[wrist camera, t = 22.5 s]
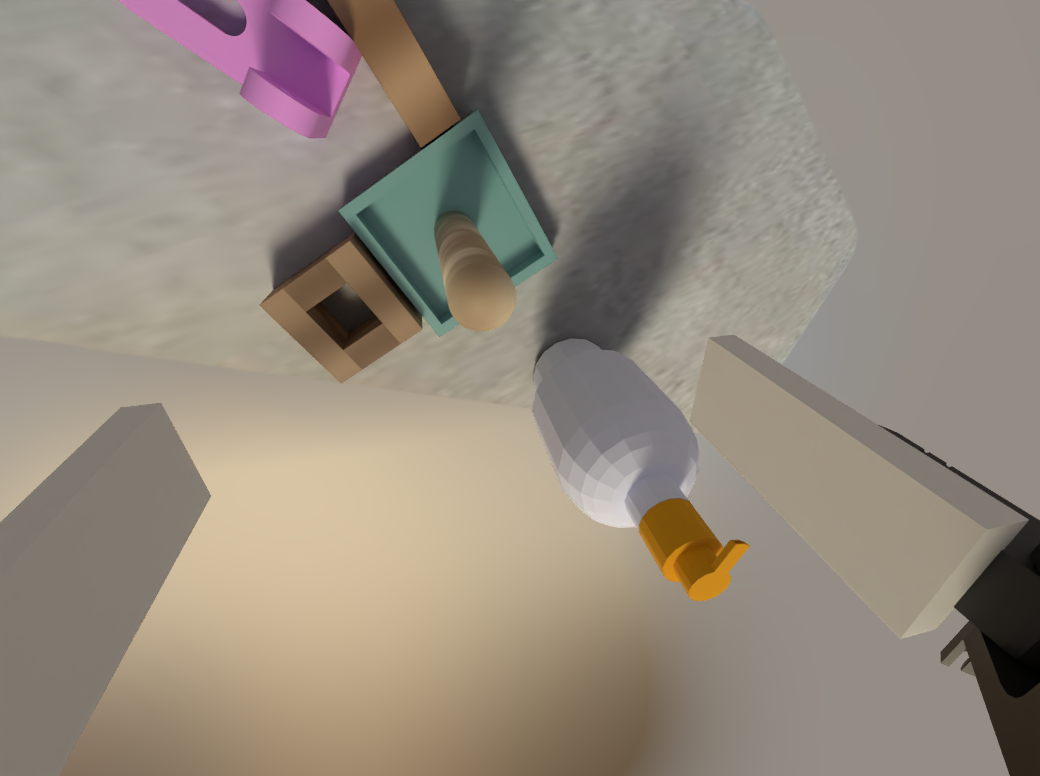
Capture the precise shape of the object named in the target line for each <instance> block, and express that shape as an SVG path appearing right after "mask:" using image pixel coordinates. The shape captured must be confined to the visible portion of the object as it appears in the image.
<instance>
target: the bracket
mask: <svg viewBox="0 0 1040 776" xmlns="http://www.w3.org/2000/svg"><path fill="white" fill-rule="evenodd" d="M119 1H120V2H121V3H123V4H124V5H125V6H126V7H127V8H128V9H130V10H131V11H132V12H134V13H135V14H136V15H138V16H139V17H141V18H143V19H144V20H146V21H147V22H149V23H150V24H152V25H153V26H155V27H156V28H158V29H159V30H161V31H162V32H164V33H165V34H167V35H168V36H170V37H171V38H173V39H174V40H176V41H177V42H179V43H180V44H182V45H183V46H185V47H186V48H188V49H189V50H191V51H192V52H194V53H195V54H197V55H198V56H200V57H201V58H203V59H204V60H206V61H207V62H209V63H210V64H212V65H213V66H215V67H216V68H218V69H219V70H221V71H222V72H224V73H225V74H227V75H228V76H230V77H231V78H233V79H234V80H236V81H237V82H239V83H240V84H242V88H241V91H240V95H241V96H242V97H243V98H245V99H246V100H247V101H248V102H250V103H251V104H252V105H254V106H255V107H257V108H258V109H259V110H261V111H262V112H264V113H265V114H267V115H268V116H270V117H272V118H273V119H275V120H276V121H278V122H280V123H281V124H283V125H285V126H286V127H288V128H290V129H292V130H293V131H295V132H297V133H299V134H301V135H303V136H305V137H308V138H326V136H327V133H328V131H329V129H330V127H331V124H332V122H333V120H334V118H335V115H336V113H337V111H338V109H339V106H340V104H341V102H342V100H343V97H344V95H345V93H346V91H347V88H348V86H349V84H350V82H351V79H352V77H353V75H354V73H355V70H356V68H357V66H358V64H359V61H360V59H361V57H362V54H361V53H360V51H359V49H358V48H357V46H356V45H355V43H354V42H353V40H352V39H351V38H350V37H349V36H348V35H347V34H346V33H345V32H343V31H342V30H341V29H340V28H339V27H338V26H337V25H335V24H334V23H333V22H332V21H331V20H330V19H328V18H327V17H326V16H325V15H323V14H322V13H321V12H320V11H319V10H317V9H316V8H315V7H314V6H312V5H311V4H310V3H309V2H307V1H306V0H237V1H238V2H239V4H240V5H241V6H242V8H243V10H244V12H245V15H246V19H247V24H246V28H245V31H244V32H243V33H242V34H240V35H238V36H230V35H228V34H226V33H225V32H224V31H222V30H221V29H219V28H218V27H217V26H215V25H214V24H212V23H211V22H209V21H208V20H207V19H205V18H204V17H202V16H201V15H199V14H198V13H197V12H195V11H194V10H192V9H191V8H189V7H188V6H187V5H185V4H184V3H182V2H181V1H179V0H119Z"/></svg>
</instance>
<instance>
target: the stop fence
mask: <svg viewBox="0 0 1040 776" xmlns="http://www.w3.org/2000/svg"><path fill="white" fill-rule="evenodd" d="M327 1H328V2H329V4H330V5H331V7H332V8H333V10H334V12H335V13H336V15H337V16H338V18H339V19H340V21H341V23H342V24H343V26H344V27H345V29H346V30H347V32H348V34H349V35H350V37H351V38H352V40H353V42H354V43H355V45H356V46H357V48H358V49H359V51H360V53H361V54H362V56H363V57H364V59H365V60H366V62H367V64H368V65H369V67H370V68H371V70H372V71H373V73H374V75H375V76H376V78H377V79H378V81H379V82H380V84H381V86H382V87H383V89H384V90H385V92H386V94H387V95H388V97H389V98H390V100H391V101H392V103H393V105H394V106H395V108H396V109H397V111H398V112H399V114H400V116H401V117H402V119H403V120H404V122H405V123H406V125H407V127H408V128H409V130H410V131H411V133H412V134H413V136H414V138H415V139H416V141H417V142H418V144H419V146H420V147H421V148H422V147H423V146H424V145H426V144H427V143H428V142H430V141H431V140H433V139H434V138H435V137H437V136H438V135H439V134H441V133H442V132H444V131H445V130H446V129H448V128H449V127H451V126H452V125H453V124H455V123H456V122H457V121H459V120H460V117H459V115H458V113H457V112H456V110H455V108H454V106H453V104H452V103H451V101H450V99H449V97H448V96H447V94H446V92H445V90H444V89H443V87H442V85H441V83H440V81H439V80H438V78H437V76H436V74H435V73H434V71H433V69H432V67H431V65H430V64H429V62H428V60H427V58H426V57H425V55H424V53H423V51H422V50H421V48H420V46H419V44H418V42H417V41H416V39H415V37H414V35H413V34H412V32H411V30H410V28H409V26H408V25H407V23H406V21H405V19H404V18H403V16H402V14H401V12H400V11H399V9H398V7H397V5H396V3H395V2H394V0H327Z"/></svg>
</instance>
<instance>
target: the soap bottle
mask: <svg viewBox="0 0 1040 776" xmlns="http://www.w3.org/2000/svg"><path fill="white" fill-rule="evenodd" d="M533 381H534V385H535V389H536V394H535V399H534V404H533V409H532V412H533V416H534V420H535V423H536V427H537V430H538V432H539V435H540V437H541V439H542V442H543V444H544V447H545V449H546V451H547V454H548V456H549V459H550V461H551V463H552V466H553V468H554V470H555V473H556V475H557V477H558V480H559V482H560V485H561V487H562V490H563V491H564V492H565V493H566V495H567V496H568V497H569V498H570V499H571V500H572V502H574V503H575V504H576V505H577V506H578V507H579V508H580V509H581V510H582V511H583V512H584V513H585V514H586V515H587V516H589V517H590V518H592V519H593V520H595V521H597V522H599V523H603V524H606V525H609V526H613V527H636V528H637V530H638V532H639V533H640V535H641V536H642V538H643V540H644V541H645V543H646V545H647V547H648V549H649V550H650V552H651V554H652V556H653V557H654V559H655V561H656V563H657V565H658V566H659V568H660V570H661V572H662V573H663V575H664V576H665V577H666V578H667V579H668V580H670V581H674V582H681V584H682V586H683V587H684V589H685V591H686V592H687V594H688V596H689V597H690V598H691V599H692V600H695V601H704V600H708V599H711V598H713V597H715V596H717V595H719V594H720V593H722V591H724V590H725V589H726V588H727V587H728V585H729V583H730V581H731V576H730V575H729V573H728V572H729V571H730V570H731V569H732V567H733V566H734V565H735V564H736V562H737V561H738V560H739V559H740V558H741V556H742V555H743V554H744V553H745V551H746V550H747V549H748V548H749V546H750V545H748V544H746V543H745V542H743V541H740V540H730V541H729V542H728V543H727V545H726V546H725V547H724V549H723V546H722V545H721V543H720V542H719V541H718V539H717V538H716V537H715V535H714V534H713V533H712V531H711V530H710V529H709V527H708V526H707V525H706V523H705V522H704V521H703V519H702V518H701V517H700V515H699V514H698V513H697V512H696V510H695V509H694V507H693V506H692V504H691V503H690V501H689V500H688V499H687V496H688V495H689V493H690V491H691V488H692V486H693V484H694V482H695V480H696V477H697V475H698V473H699V451H698V444H697V439H696V437H695V435H694V433H693V431H692V429H691V427H690V425H689V423H688V422H687V420H686V418H685V417H684V415H683V414H682V412H681V410H680V409H679V408H678V407H677V406H676V405H675V404H674V403H673V402H672V401H671V400H670V399H669V398H668V397H667V396H666V395H665V394H664V393H663V392H662V391H661V390H660V389H659V388H658V386H657V385H656V384H655V383H654V382H653V381H652V380H651V379H650V378H649V377H648V376H647V375H646V374H645V373H644V372H643V371H642V370H641V369H640V368H639V367H638V366H637V365H636V364H635V363H634V362H633V361H632V360H631V359H629V358H627V357H625V356H624V355H622V354H620V353H618V352H616V351H613V350H601V348H600V347H599V346H597V345H595V344H593V343H592V342H590V341H588V340H586V339H574V338H570V339H567V340H564V341H560V342H557V343H555V344H554V345H553V346H551V347H550V348H549V349H547V350H546V351H545V352H544V353H543V354H542V356H541V357H540V359H539V360H538V362H537V363H536V366H535V371H534V377H533Z"/></svg>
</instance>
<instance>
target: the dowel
mask: <svg viewBox="0 0 1040 776" xmlns="http://www.w3.org/2000/svg"><path fill="white" fill-rule="evenodd" d="M434 237H435V242H436V247H437V252H438V257H439V262H440V267H441V272H442V276H443V281H444V286H445V291H446V296H447V301H448V306H449V309H450V312H451V314H452V316H453V317H454V319H455V320H456V321H457V322H458V323H459V324H460V325H462V326H463V327H465V328H467V329H470V330H474V331H489V330H492V329H495V328H497V327H499V326H501V325H502V324H503V323H505V322H506V321H507V320H508V318H509V317H510V316H511V314H512V313H513V310H514V308H515V305H516V290H515V286H514V284H513V282H512V280H511V278H510V277H509V275H508V274H507V272H506V271H505V269H504V268H503V266H502V265H501V263H500V262H499V260H498V259H497V258H496V256H495V255H494V253H493V252H492V250H491V249H490V247H489V246H488V244H487V243H486V241H485V240H484V238H483V237H482V235H481V234H480V232H479V231H478V229H477V228H476V226H475V225H474V223H473V222H472V220H471V219H470V218H469V217H468V216H467V215H466V214H464V213H462V212H459V211H448V212H446V213H444V214H442V215H441V216H440V217H439V218H438V219H437V221H436V223H435V226H434Z"/></svg>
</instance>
